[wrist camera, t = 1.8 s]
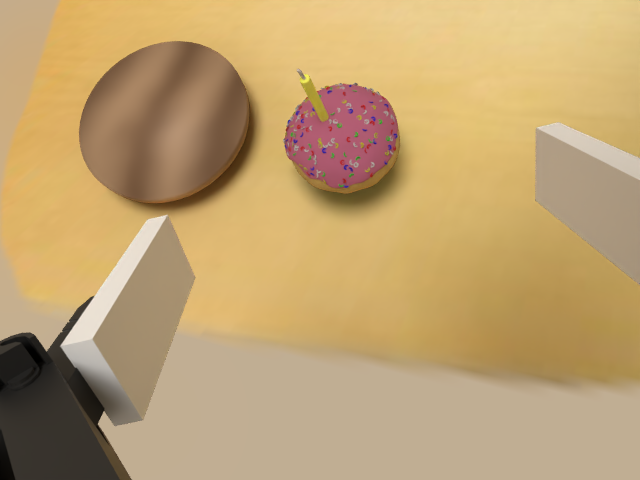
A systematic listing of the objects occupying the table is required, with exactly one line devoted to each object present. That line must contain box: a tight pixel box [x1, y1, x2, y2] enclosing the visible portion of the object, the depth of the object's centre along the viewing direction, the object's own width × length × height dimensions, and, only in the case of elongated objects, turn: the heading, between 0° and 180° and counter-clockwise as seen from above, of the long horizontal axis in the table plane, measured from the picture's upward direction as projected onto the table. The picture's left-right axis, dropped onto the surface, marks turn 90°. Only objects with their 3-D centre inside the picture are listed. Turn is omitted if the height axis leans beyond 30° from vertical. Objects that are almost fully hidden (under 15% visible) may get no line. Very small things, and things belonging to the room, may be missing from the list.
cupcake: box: [283, 69, 400, 194], centre depth 31 cm, size 9×8×12 cm
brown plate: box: [79, 41, 250, 203], centre depth 39 cm, size 15×15×3 cm
